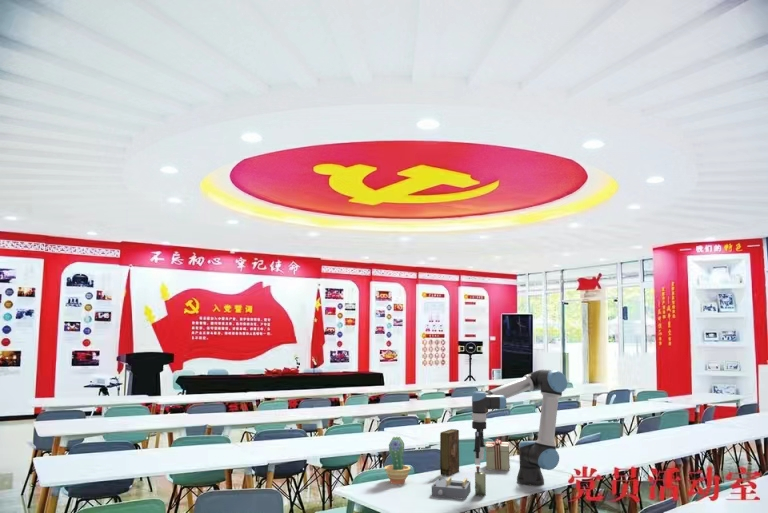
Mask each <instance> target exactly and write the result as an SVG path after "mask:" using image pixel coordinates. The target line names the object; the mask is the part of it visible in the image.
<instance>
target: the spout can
mask: <svg viewBox="0 0 768 513" xmlns="http://www.w3.org/2000/svg"><path fill="white" fill-rule="evenodd" d="M475 469H476V471H475V472H474V484H475V485H474V489H475V490H474V495H475V496H477V495H479V496H478V497H485V496H486V495H487V493H486V492H487V488H486V487H487V485H486V483H487V482H486V480H487V479H486V478H487V477H486V472H484V471H480V465H476V466H475ZM484 495H485V496H484Z"/></svg>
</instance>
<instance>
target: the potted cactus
mask: <svg viewBox="0 0 768 513" xmlns="http://www.w3.org/2000/svg"><path fill="white" fill-rule="evenodd" d="M388 452H389V455H390V457H391V462H392V464H389V465H385V466H384V471H385V472H386V475H387V477H388V479H389V483H390V484H393V485H401V484H405V483H406V479H407V478H408V477H409V473H410V472H411V469H412V468H411V466H408V465H406V464H404V452H405V443H404V441H403V439H402V437H401V436H399V437H398V436H393V437H392V438H391V440H390V442H389V444H388Z"/></svg>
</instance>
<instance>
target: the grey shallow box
mask: <svg viewBox="0 0 768 513" xmlns="http://www.w3.org/2000/svg"><path fill="white" fill-rule="evenodd" d="M471 488H472V487H471V481H470V480H468V478H467V477H465V478H464V479H463V480H455V479H454V480H452V476H448V478H447V479H442V478H437V479H436V480H435V481H434V483H432V485H431V497H439V498H447V497H449V498H450V499H458V498H462V499H461V500H467V498H468V497H469V495H470V493H471V490H472V489H471ZM467 496H468V497H467Z"/></svg>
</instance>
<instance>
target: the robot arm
mask: <svg viewBox="0 0 768 513" xmlns="http://www.w3.org/2000/svg"><path fill="white" fill-rule="evenodd" d="M567 387H568V380H567V377H566V376H565V374H564V373H563V372H561V371H559V370H553V369H552V370H550V369H539V370H535V371H532V372H530V373H528V374H525V375H524V376H523V377H521V378H519V379H517V380H513V381H511V382H509V383H506V384H503V385H501V386H498V387H494V388H492V389H490V390H486V391H477V390H476V391H473V392H472V395H471V412H472V413H471V414H470V416H471V418H472V421H471V428H472V429H474V430H475V432H474V449H473V450H472V451H473V452H474V465H476V466H481V461H484V458H485V455H484V453H485V452H484V451H485V450H484V448H485V445H486V444H484V443H485V438H484V430H486V429H487V410H504V409H505V408H506V407H507V399H509V398H512V397H514V396H517V395H519V394H522V393H524V392H527V391H528V392H533V391H536V390H537V391H538V390H540V394H541V395H542V401H541V409H540V420H539V428H538V429H539V430H538V435H537V436H538V438H537V440H524V441H523V440H522V441H520V442H519V444H518V445H519V446H518V450H519V451H518V452H519V453H518V454H519V456H518V457H519V459H518V460H519V469H518V471H517V472H518V473H517V476H516V482H517V484H520V485H523V486H532V487H533V486H535V487H536V486H542V485H544V484H545V479H544V475H543V473H542V470H547V471H551V470H554V469H555V468H556V467H557V466H558V464H559V462H560V454H559V452H558V451H557V444H556V443H555V433H556V428H557V427H556V425H557V416H558V409H559V408H558V407H559V406H558V405H559V399H560V398H562V396H563V394H562V393H563V392H564V391H565V390H566V389H567Z"/></svg>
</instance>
